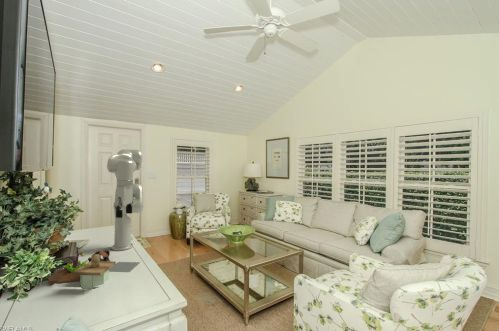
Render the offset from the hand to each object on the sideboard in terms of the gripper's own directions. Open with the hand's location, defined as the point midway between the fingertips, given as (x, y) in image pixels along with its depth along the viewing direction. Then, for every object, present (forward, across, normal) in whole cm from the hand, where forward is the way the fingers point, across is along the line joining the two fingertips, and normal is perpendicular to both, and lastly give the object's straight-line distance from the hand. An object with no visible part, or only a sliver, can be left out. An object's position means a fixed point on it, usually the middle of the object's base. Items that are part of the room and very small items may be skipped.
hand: (124, 215), depth 128 cm
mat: (+27, +3, +2) cm, 28 cm away
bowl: (+27, +19, -3) cm, 33 cm away
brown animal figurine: (+28, -3, -14) cm, 31 cm away
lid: (+21, +18, -3) cm, 28 cm away
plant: (+28, +11, -17) cm, 35 cm away
